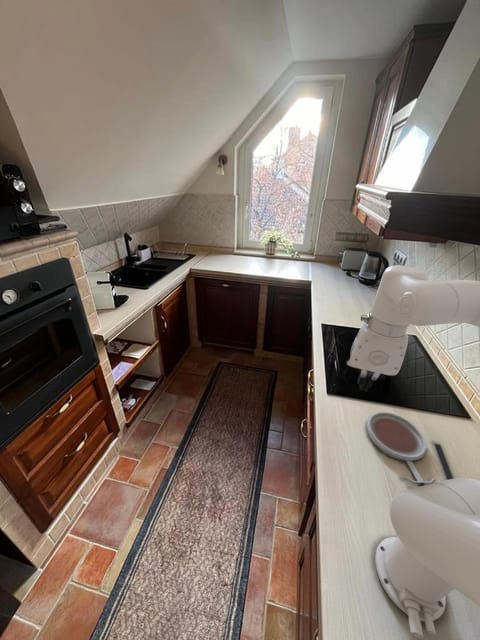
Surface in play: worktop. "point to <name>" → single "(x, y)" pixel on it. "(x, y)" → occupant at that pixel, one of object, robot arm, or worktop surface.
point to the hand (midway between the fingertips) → (363, 387)
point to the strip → (443, 462)
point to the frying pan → (398, 440)
